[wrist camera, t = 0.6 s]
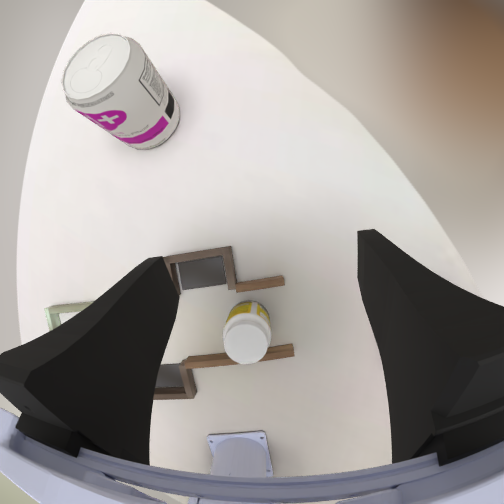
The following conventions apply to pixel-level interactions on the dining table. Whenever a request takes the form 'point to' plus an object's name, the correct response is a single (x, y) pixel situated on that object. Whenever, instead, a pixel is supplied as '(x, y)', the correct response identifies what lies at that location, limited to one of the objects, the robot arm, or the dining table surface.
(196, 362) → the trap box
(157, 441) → the dining table surface
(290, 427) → the dining table surface
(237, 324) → the supplement bottle
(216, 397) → the dining table surface
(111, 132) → the supplement can
